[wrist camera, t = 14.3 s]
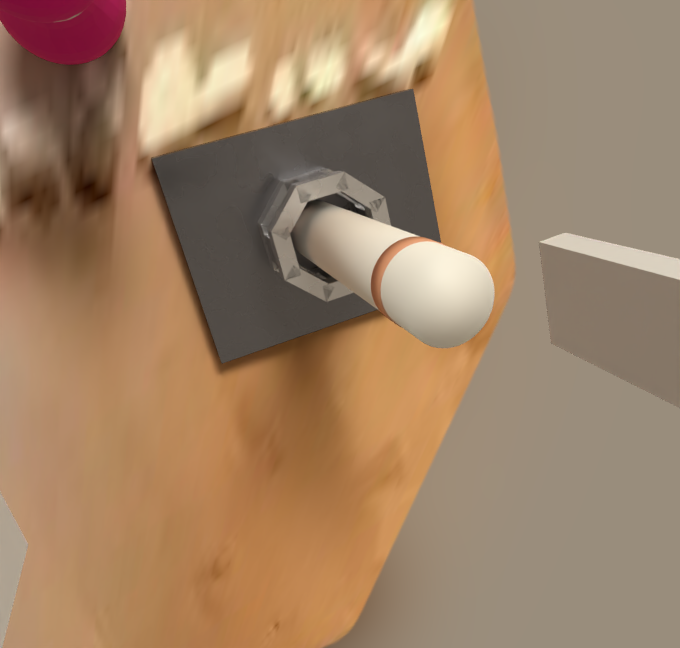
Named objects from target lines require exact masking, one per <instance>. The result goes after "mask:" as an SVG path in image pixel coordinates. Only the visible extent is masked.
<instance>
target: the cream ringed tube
mask: <svg viewBox="0 0 680 648" xmlns="http://www.w3.org/2000/svg"><path fill="white" fill-rule="evenodd" d="M290 236H291V239H292V243H293V247H294V248H295V250H296V251H298V252H299V253H300V254H302V255H303V256H304V257H306V258H307V259H308V260H310V261H311V262H313V263H314V264H315V265H317V266H318V267H319V268H321V269H322V270H324V271H325V272H326V273H328V274H329V275H331V276H332V277H333V278H335V279H336V280H337V281H339V282H340V283H342V284H343V285H344V286H346V287H347V288H349V289H350V290H351V291H353V292H354V293H355V294H357V295H358V296H360V297H361V298H362V299H364V300H365V301H366V302H368V303H369V304H371V305H372V306H373V307H375V308H376V309H378V310H379V311H380V312H381V313H382V314H383V315H384V316H386V317H387V318H388V319H390V320H391V321H392V322H394V323H395V324H397V325H398V326H400V327H402V328H404V329H405V330H407V331H408V332H409V333H411V334H412V335H413V336H415V337H416V338H418V339H419V340H420V341H422V342H423V343H425V344H427V345H429V346H432V347H436V348H451V347H455V346H459V345H461V344H463V343H465V342H467V341H468V340H470V339H471V338H473V337H474V336H475V335H476V334H477V333H478V332H479V331H480V330H481V329H482V328H483V326H484V325H485V323H486V322H487V320H488V318H489V316H490V313H491V311H492V307H493V303H494V284H493V280H492V277H491V275H490V273H489V271H488V269H487V268H486V266H485V265H484V264H483V263H482V262H481V261H480V260H478V259H477V258H476V257H474V256H472V255H469V254H466V253H464V252H461V251H458V250H455V249H453V248H450V247H447V246H446V245H444V244H442V243H439V242H437V241H434V240H431V239H428V238H425V237H420V236H417V235H414V234H412V233H409V232H406V231H403V230H401V229H398V228H395V227H392V226H390V225H387V224H384V223H381V222H379V221H376V220H373V219H371V218H368V217H365V216H362V215H360V214H357V213H354V212H351V211H349V210H346V209H343V208H340V207H338V206H335V205H332V204H329V203H327V202H324V201H318V200H314V201H309V202H307V204H306V206H305V207H304V209H303V211H302V213H301V215H300V217H299V218H298V220H297V222H296V224H295V226H294V228H293V229H292V231H291V233H290Z"/></svg>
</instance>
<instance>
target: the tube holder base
mask: <svg viewBox="0 0 680 648" xmlns="http://www.w3.org/2000/svg"><path fill="white" fill-rule="evenodd" d="M151 159H152V162H153V165H154V167H155V170H156V173H157V176H158V179H159V182H160V185H161V188H162V191H163V194H164V197H165V200H166V203H167V206H168V208H169V211H170V214H171V217H172V220H173V223H174V226H175V229H176V232H177V235H178V238H179V241H180V244H181V246H182V249H183V252H184V255H185V258H186V261H187V264H188V267H189V270H190V273H191V276H192V279H193V282H194V285H195V287H196V290H197V293H198V296H199V299H200V302H201V305H202V308H203V311H204V314H205V317H206V320H207V323H208V326H209V328H210V331H211V334H212V337H213V340H214V343H215V346H216V349H217V352H218V355H219V358H220V360H221V363H225V362H228V361H231V360H233V359H236V358H239V357H242V356H245V355H248V354H251V353H254V352H256V351H259V350H262V349H265V348H268V347H271V346H274V345H277V344H280V343H282V342H285V341H288V340H291V339H294V338H297V337H300V336H303V335H306V334H308V333H311V332H314V331H317V330H320V329H323V328H326V327H329V326H332V325H334V324H337V323H340V322H343V321H346V320H349V319H352V318H355V317H357V316H360V315H363V314H366V313H369V312H372V311H375V310H378V309H376V308H375V307H373V306H372V305H371V304H369V303H368V302H366V301H365V300H364V299H362V298H361V297H360V296H358V295H357V294H355V293H354V292H353V291H351V290H350V289H349V288H347V287H346V286H344V285H343V284H342V283H340V282H339V281H337V280H336V279H335V278H333V277H332V276H331V275H329V274H328V273H326V272H325V271H324V270H322V269H321V268H319V267H318V266H317V265H315V264H314V263H313V262H311V261H310V260H308V259H307V258H306V257H304V256H303V255H302V254H300V253H299V252H298V251H296V250H295V248H294V247H293V243H292V239H291V236H290V233H291V231H292V229H293V228H294V226H295V224H296V222H297V220H298V218H299V217H300V215H301V213H302V211H303V209H304V207H305V206H306V204H307V202H309V201H314V200H318V201H324V202H327V203H329V204H332V205H335V206H338V207H340V208H343V209H346V210H349V211H351V212H354V213H357V214H360V215H362V216H365V217H368V218H371V219H373V220H376V221H379V222H381V223H384V224H387V225H390V226H392V227H395V228H398V229H401V230H403V231H406V232H409V233H412V234H414V235H417V236H420V237H425V238H428V239H431V240H434V241H437V242H439V243H441V240H440V234H439V229H438V223H437V218H436V212H435V207H434V201H433V196H432V190H431V185H430V179H429V174H428V168H427V163H426V157H425V152H424V146H423V141H422V135H421V130H420V124H419V119H418V113H417V108H416V102H415V97H414V91H413V89H408V90H403V91H400V92H396V93H392V94H388V95H385V96H381V97H377V98H373V99H370V100H366V101H362V102H358V103H355V104H351V105H347V106H343V107H340V108H336V109H332V110H328V111H325V112H321V113H317V114H313V115H310V116H306V117H302V118H298V119H295V120H291V121H287V122H283V123H280V124H276V125H272V126H268V127H265V128H261V129H257V130H253V131H250V132H246V133H242V134H238V135H235V136H231V137H227V138H223V139H220V140H216V141H212V142H208V143H205V144H201V145H197V146H193V147H190V148H186V149H182V150H178V151H175V152H171V153H167V154H163V155H160V156H156V157H152V158H151Z"/></svg>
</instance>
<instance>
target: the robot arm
mask: <svg viewBox="0 0 680 648" xmlns="http://www.w3.org/2000/svg"><path fill="white" fill-rule="evenodd" d="M539 248H540V255H541V264H542V273H543V281H544V289H545V297H546V306H547V314H548V322H549V331H550V339H551V344H553V345H555V346H557V347H559V348H561V349H564V350H565V351H567V352H570V353H571V354H573V355H575V356H577V357H579V358H581V359H583V360H585V361H587V362H589V363H591V364H594V365H595V366H597V367H599V368H601V369H603V370H605V371H607V372H609V373H611V374H613V375H615V376H617V377H619V378H621V379H623V380H625V381H627V382H629V383H631V384H633V385H635V386H637V387H639V388H641V389H643V390H645V391H647V392H649V393H651V394H653V395H655V396H657V397H659V398H661V399H663V400H665V401H667V402H669V403H671V404H673V405H675V406H677V407H679V408H680V259H677V258H672V257H668V256H664V255H659V254H655V253H651V252H646V251H642V250H638V249H633V248H629V247H625V246H620V245H616V244H612V243H607V242H603V241H599V240H594V239H590V238H585V237H581V236H577V235H573V234H568V233H563V234H561V235H558V236H555V237H552V238H549V239H546V240H543V241H540V242H539ZM27 547H28V543H27V541H26V539H25V537H24V535H23V533H22V532H21V530H20V528H19V526H18V524H17V522H16V520H15V518H14V517H13V515H12V513H11V511H10V509H9V507H8V505H7V503H6V502H5V500H4V498H3V496H2V494H1V492H0V648H2V646H3V642H4V638H5V634H6V630H7V627H8V623H9V619H10V615H11V611H12V607H13V603H14V599H15V595H16V591H17V587H18V583H19V579H20V575H21V571H22V567H23V563H24V559H25V555H26V551H27Z"/></svg>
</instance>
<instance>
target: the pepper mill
mask: <svg viewBox="0 0 680 648" xmlns="http://www.w3.org/2000/svg"><path fill="white" fill-rule="evenodd" d="M125 17H126V0H0V20H1V22H2V24H3V25H4V27H5V28H6V30H7V31H8V33H9V34H10V35H11V36H12V37H13V38H14V39H15V40H16V41H17V42H18V43H19V44H20V45H21V46H22V47H24V48H25V49H26V50H28V51H29V52H31V53H33V54H34V55H36V56H38V57H40V58H42V59H45V60H47V61H50V62H54V63H58V64H66V65H73V64H82V63H87V62H90V61H92V60H95V59H97V58H99V57H100V56H102V55H104V54H105V53H106V52H107V51H108V50H109V49H111V48H112V46H113V45H114V44H115V42H116V41H117V40H118V38H119V36H120V34H121V31H122V29H123V26H124V22H125Z"/></svg>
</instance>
